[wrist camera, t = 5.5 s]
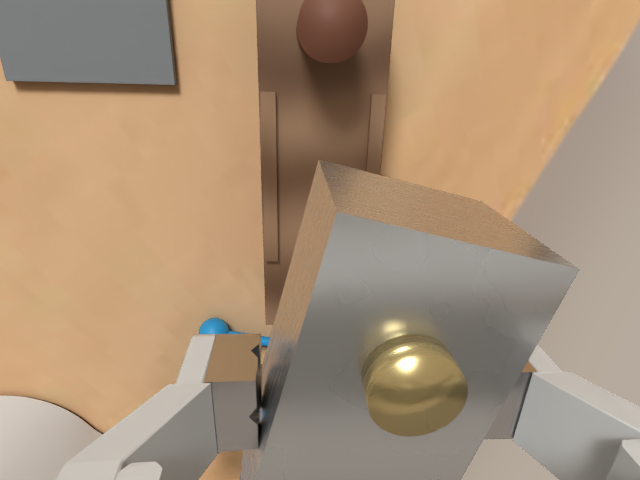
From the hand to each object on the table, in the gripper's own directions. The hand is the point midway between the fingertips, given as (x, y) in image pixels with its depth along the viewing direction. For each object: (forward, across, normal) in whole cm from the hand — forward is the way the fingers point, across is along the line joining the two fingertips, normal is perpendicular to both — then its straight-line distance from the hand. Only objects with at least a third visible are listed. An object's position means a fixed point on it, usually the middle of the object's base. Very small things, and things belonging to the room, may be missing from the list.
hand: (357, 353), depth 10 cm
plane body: (+21, 0, 0) cm, 21 cm away
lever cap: (+1, 0, 0) cm, 1 cm away
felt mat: (+21, +14, -10) cm, 27 cm away
